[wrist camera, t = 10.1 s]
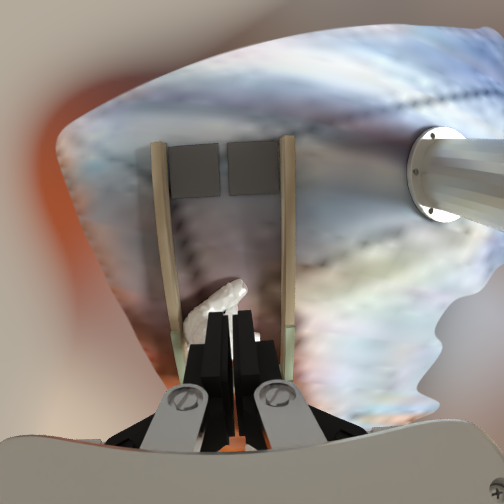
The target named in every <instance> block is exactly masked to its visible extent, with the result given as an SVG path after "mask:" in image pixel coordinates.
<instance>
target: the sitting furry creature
mask: <svg viewBox="0 0 504 504" xmlns="http://www.w3.org/2000/svg"><path fill="white" fill-rule="evenodd" d="M247 292H248V288H247V286H246V284H245V283H243V280H242V279H237V280H234V281H232V282H231V283H229V282H228V283H227V285H226V286H222V287H221V288H220V290H218V291H216V292H215V293H214V294H212V295H211V296H210V297H209V298H208V299H207V300H204V301H203V303H202V304H200V305H199V306H197V307H194V310H193V311H191V312H190V313H189V314H188V317H186V318H185V320H184V322H183V333H184V334H185V339H186V340H187V341H188V342H189V345H187V346H186V350H187V352H189V347H190V345H191V344H205V337H206V329H207V321H208V314H209V312H223V311H226V312H225V314H224V315H228V319H229V332H230V344H231V355H232V360H233V327H232V315H235V314H238V306H237V304H238V303H239V301H240V300H241V299H242V298H243V297H244V296H245V295H246V293H247ZM223 313H224V312H223ZM254 335H255V341H260V333H259V332H254ZM187 357H188V353H187ZM187 357H186V363H187ZM185 366H186V364H185Z"/></svg>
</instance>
